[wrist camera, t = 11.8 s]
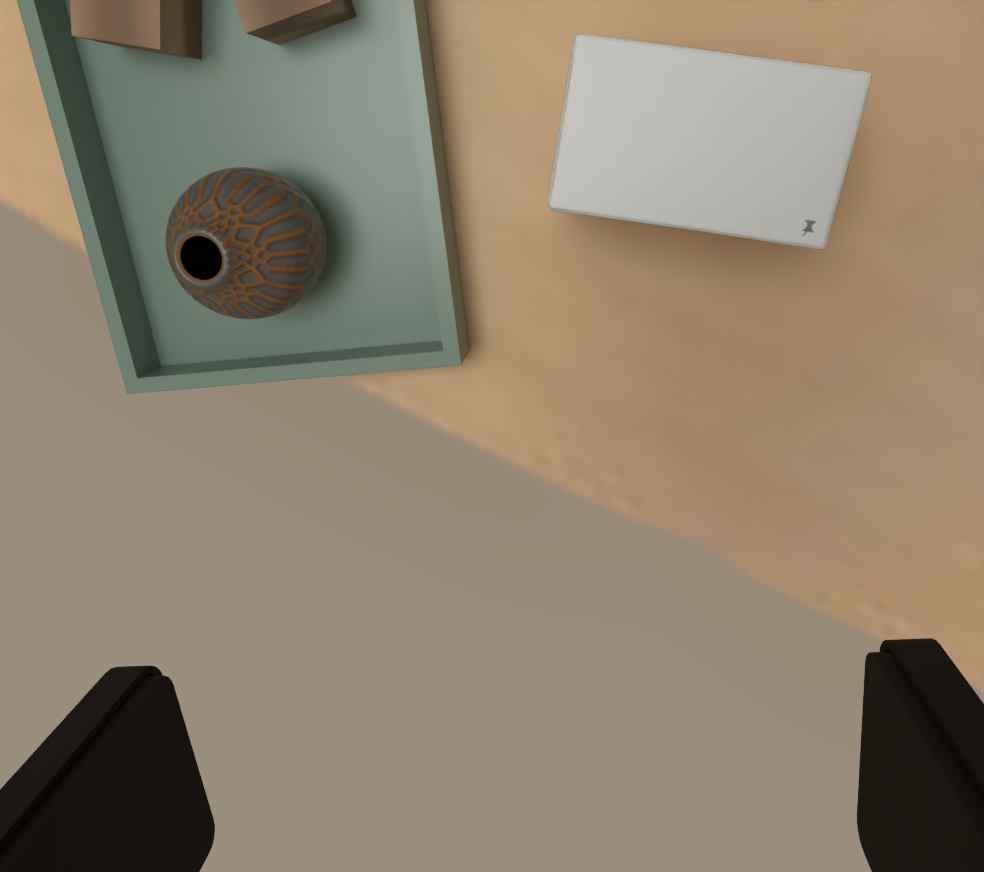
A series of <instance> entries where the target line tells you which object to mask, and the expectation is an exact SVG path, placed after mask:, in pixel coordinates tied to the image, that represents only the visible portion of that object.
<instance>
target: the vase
mask: <svg viewBox="0 0 984 872" xmlns="http://www.w3.org/2000/svg"><path fill="white" fill-rule="evenodd" d="M165 244H166V252H167V257H168V261H169V264H170V266H171V269H172V271H173V273H174V275H175V277H176V279H177V280H178V282H179V283H180V285H181V286H182V287H183V289H184V290H185V291H186V292H187V293H188V294H189V295H190V296H191V297H192V298H193V299H194V300H196V301H197V302H198V303H200V304H201V305H203V306H204V307H206V308H208V309H210V310H212V311H214V312H216V313H219V314H222V315H225V316H229V317H233V318H239V319H261V318H267V317H271V316H274V315H277V314H280V313H282V312H284V311H286V310H288V309H290V308H292V307H293V306H295V305H296V304H298V303H299V302H300V301H301V300H303V299H304V298H305V297H306V296H307V295H308V294H309V293H310V291H311V290H312V289H313V288H314V286H315V285H316V283H317V281H318V279H319V277H320V275H321V273H322V270H323V267H324V264H325V259H326V250H327V244H326V234H325V229H324V225H323V222H322V220H321V217H320V215H319V213H318V211H317V209H316V208H315V206H314V204H313V203H312V202H311V200H310V199H309V198H308V196H307V195H306V194H305V193H304V192H303V191H302V190H301V189H300V188H298V187H297V186H296V185H295V184H293V183H292V182H290V181H289V180H287V179H285V178H284V177H282V176H280V175H278V174H275V173H273V172H270V171H267V170H262V169H257V168H248V167H235V168H227V169H222V170H219V171H215V172H213V173H210V174H208V175H206V176H204V177H202V178H201V179H199V180H198V181H196V182H195V183H194V184H192V185H191V186H190V187H189V188H188V189H187V190H186V191H185V192H184V193H183V194H182V195H181V196H180V198H179V199H178V200H177V202H176V204H175V205H174V207H173V209H172V211H171V213H170V216H169V219H168V223H167V227H166V236H165Z"/></svg>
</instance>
